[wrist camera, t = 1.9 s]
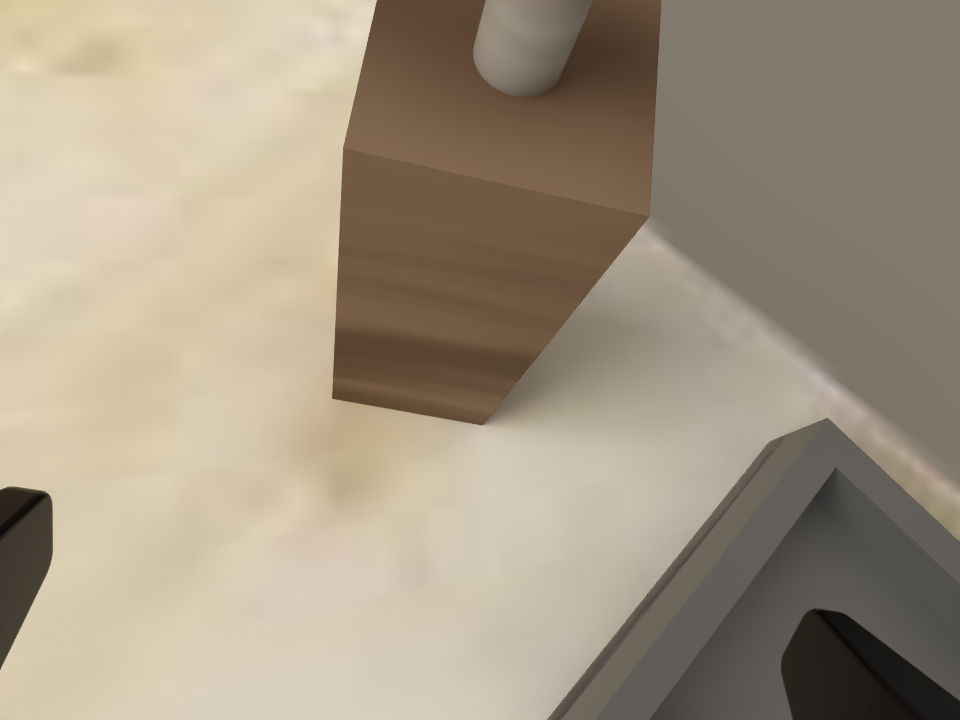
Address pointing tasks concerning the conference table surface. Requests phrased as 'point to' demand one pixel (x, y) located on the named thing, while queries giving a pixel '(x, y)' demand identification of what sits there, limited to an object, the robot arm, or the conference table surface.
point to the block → (485, 190)
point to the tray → (781, 589)
